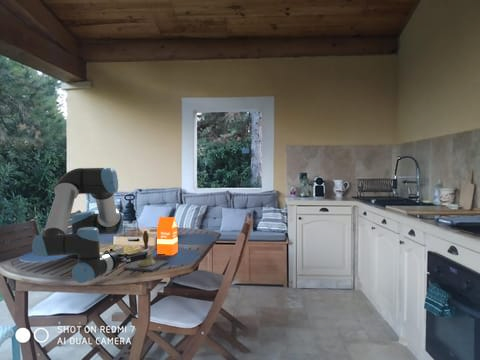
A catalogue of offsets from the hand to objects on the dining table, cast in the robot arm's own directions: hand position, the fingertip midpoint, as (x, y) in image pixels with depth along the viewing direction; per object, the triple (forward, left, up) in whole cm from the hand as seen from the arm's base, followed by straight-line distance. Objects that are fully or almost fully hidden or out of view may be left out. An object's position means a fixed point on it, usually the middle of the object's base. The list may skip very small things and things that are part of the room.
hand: (135, 250), depth 164 cm
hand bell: (0, +9, -9) cm, 13 cm away
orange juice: (-2, +34, -10) cm, 35 cm away
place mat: (0, +9, -10) cm, 13 cm away
